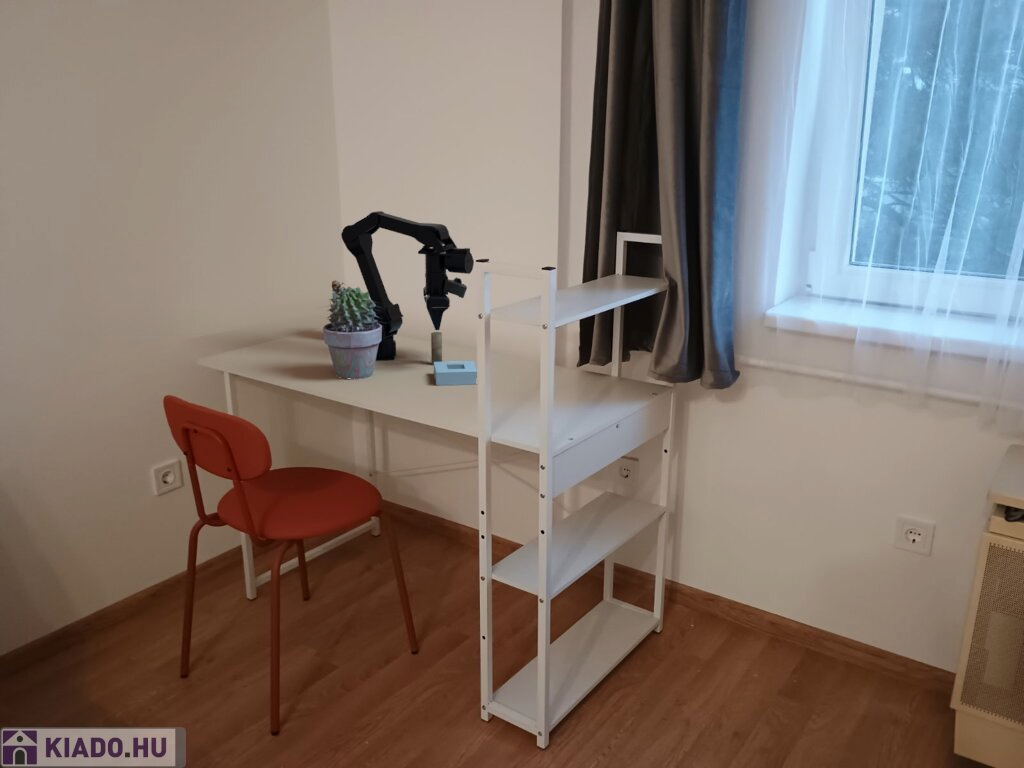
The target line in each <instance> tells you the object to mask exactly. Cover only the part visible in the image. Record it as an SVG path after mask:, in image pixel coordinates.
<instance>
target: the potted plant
mask: <svg viewBox="0 0 1024 768" xmlns="http://www.w3.org/2000/svg"><path fill="white" fill-rule="evenodd" d="M342 285H346V284H345V282H341V283H340V281H338V280H333V281H331V288H332V293H333V292H335V293H336V294H337V295H336V299H333V297H332V298H329V299H328V300H329V302H330V303H329V304H330V305H329V307H330V308H329V309H328V310H326V312H330V313H329V316H328V317H326V319H328V321H329V322H330V323H327V324H325V325H324V326H323V327H322V330H323V338H324V344H325V345H327V349H328V351H329V355H330V358H331V359H330V360H331V362H332V367H333V369H334V372H335V373H334V374H335V376H336V375H337V376H338V377H337V376H336V377H337V378H339V377H341V378H340V379H343V378H351V379H350V380H357V379H356V378H361V379H366V378H369V376H370V377H371V376H373V375H374V370H375V365H376V361H377V360H376V355H377V351H378V346H379V343H380V342H381V339H382V327H383V326H381V324H379V323H378V320H375V319H374V317H378V316H376V314H375V312H374V311H373V308H375V306H376V305H375V303H373V301H372V300H371V299H370V296H369V292H368V291H366V292H363V291H362V290H361V288H360V287H359V286H357V287H356V290H355V289H353V288H352V287H351V286H350V285H348V287H347V288H346V287H343V286H342ZM346 286H347V285H346ZM342 289H343V291H342ZM343 292H344V293H343ZM331 302H332V303H331ZM333 303H334V304H333ZM376 303H377V302H376ZM382 304H383V303H382ZM325 307H328V305H327V306H325ZM376 307H378V306H376ZM319 308H322V306H320V307H318V309H319ZM380 308H381V307H380ZM375 310H376V309H375ZM379 318H380V317H379ZM384 323H385V322H384ZM389 324H390V323H389ZM365 377H366V378H365ZM354 378H355V379H354Z"/></svg>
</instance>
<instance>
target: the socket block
mask: <svg viewBox="0 0 1024 768" xmlns="http://www.w3.org/2000/svg"><path fill="white" fill-rule="evenodd" d="M476 367H477V364H476V362H475V361H474V360H459V361H458V360H457V361H456V360H454V361H451V360H450V361H442V362H434V365H433V377H434V381H435V385H436V386H437V387H438V386H466V385H467V386H469V385H477V384H476V378H477V369H478V367H477V368H476Z"/></svg>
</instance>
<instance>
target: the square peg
mask: <svg viewBox="0 0 1024 768" xmlns="http://www.w3.org/2000/svg"><path fill="white" fill-rule="evenodd" d="M430 341H431V342H430V344H431V345H430V346H431V351H430V353H431V357H430V359H431V366H434V362H443V333H442V332H439V331H438V332H437V331H434V332H430Z"/></svg>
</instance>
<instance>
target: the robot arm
mask: <svg viewBox="0 0 1024 768" xmlns="http://www.w3.org/2000/svg"><path fill="white" fill-rule="evenodd" d="M379 229H384V230H387V231H389V232H390V231H391V232H394V233H397V234H401V235H404V236H408V237H410V238H413V239H414V240H416V241H417V242H418V243H420V244H422V245H423V246H422V248H420V249H419V250H418V251H417V254H419V255H425V257H424V258H425V259H424V261H425V263H424V265H425V266H424V267H425V271H424V272H425V273H424V278H425V286H424V287H423V289H422V290H423V291H422V292H423V294H422V295H423V299H424V302H425V306H426V307H425V308H426V309H427V312H428V315H429V317H430V319H431V321H432V322H431V323H432V324H433V327H434V330H435V331H440V329H441V325H442V324H441V323H442V319H443V316H444V313H445V311H446V310H448V309H449V308H450V305H451V304H450V301H451V300H450V297H449V296H448V295H449V294H452V295H454V296H457V297H458V298H461V299H464V298H465V295H466V292H467V289H468V287H467V285H466V284H464V283H462V282H463V281H462V279H461V278H459V277H457V276H456V277H455V278H453V279H449V277H448V275H447V271H448V272H449V273H456V274H457V273H458V274H465V275H466V274H468V275H470V274H471V273H472V271H473V269H474V257H473V255H472V253H471V248H470V247H464V248H462V247H461V248H459V247H458V245H456V243H455V242H454V241H453V239H452V237H451V235H450V233H449V229H448V227H447V226H446V225H444V224H442V223H431V222H430V223H429V222H425V223H424V222H417V221H415V220H414V221H413V220H411V219H407V218H403V217H399V216H396V215H393V214H390V213H386V212H384V211H382V210H381V211H380V210H379V211H378V210H377V211H373V212H370V213H369V214H368V215H367V216H365V217H364V218H361V219H360V220H358V221H356V222H355V223H353V224H349V225H346V226H344V227H343V229H342V231H341V233H340V234H341V239H342V241H343V244H344V245H345V247H346V249H347V251H349V253H350V254H351V255H352V256H353V257H354V258H355V260H356V262H357V263H356V264H357V265H358V269H359V270H360V271H359V272H360V274H361V276H362V279H363V282H364V285H365V288H366V291H367V292H369V298H370V300H372V301H373V303H375V305H376V306H378V307H376V306H375V308H373V309H372V310H373V311H374V312H375V314H376V316H378V317H374V319H375V320H378V323H379V324H381V326H383V327H382V339H381V342H380V343H379V346H378V351H377V355H376V360H375V361H378V360H379V361H381V360H382V361H383V360H385V361H386V360H388V361H389V360H390V361H391V360H395V357H396V356H397V341H396V340H395V339H394V336H395V335H397V334H398V332H399V330H400V329H401V327H402V325H403V318H404V315H403V313H402V312H401V308H400V305H399V303H395V304H394V303H393V302H392V301H391V300H390V298H389V296H388V293H387V291H386V287H385V285H384V282H383V279H382V277H381V274H380V271H379V269H378V268H379V267H378V266H377V263H376V260H375V258H374V255H373V243H374V242H373V241H374V240H373V237H372V235H374V234H375V233H376V232H378V230H379ZM376 302H377V303H376ZM382 303H383V304H382ZM380 307H381V308H380ZM375 309H376V310H375ZM379 317H380V318H379ZM384 322H385V323H384ZM389 323H390V324H389Z"/></svg>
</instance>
